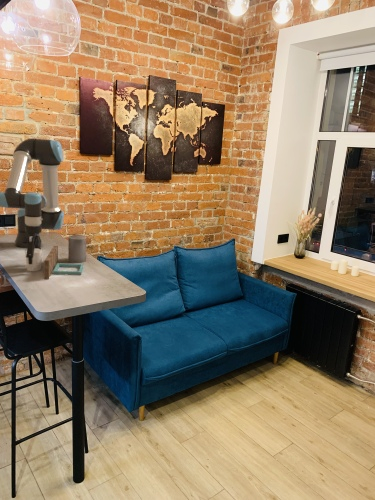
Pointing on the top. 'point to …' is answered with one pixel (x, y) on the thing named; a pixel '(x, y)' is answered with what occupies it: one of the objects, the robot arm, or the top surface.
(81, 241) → the pillar candle
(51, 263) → the brown wooden board
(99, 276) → the top surface
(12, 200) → the robot arm
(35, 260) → the white cup
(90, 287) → the top surface
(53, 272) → the keeper frame
